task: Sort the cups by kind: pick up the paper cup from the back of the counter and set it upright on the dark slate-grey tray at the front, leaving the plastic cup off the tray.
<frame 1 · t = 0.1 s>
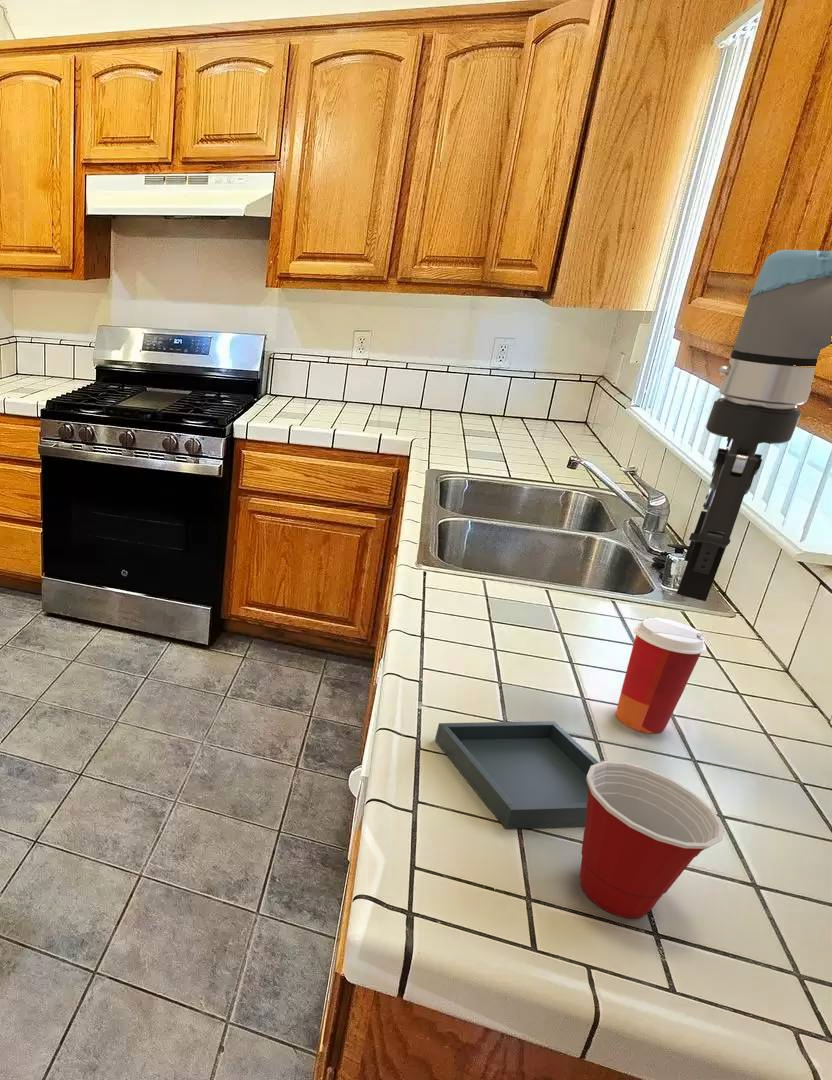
hand: (694, 579, 90), 23 cm above the countertop, tool pointing down, fingers open, 13 cm apart
paper cup: (638, 722, 102), on the countertop
tray: (529, 779, 89), on the countertop
plastic cup: (615, 897, 73), on the countertop
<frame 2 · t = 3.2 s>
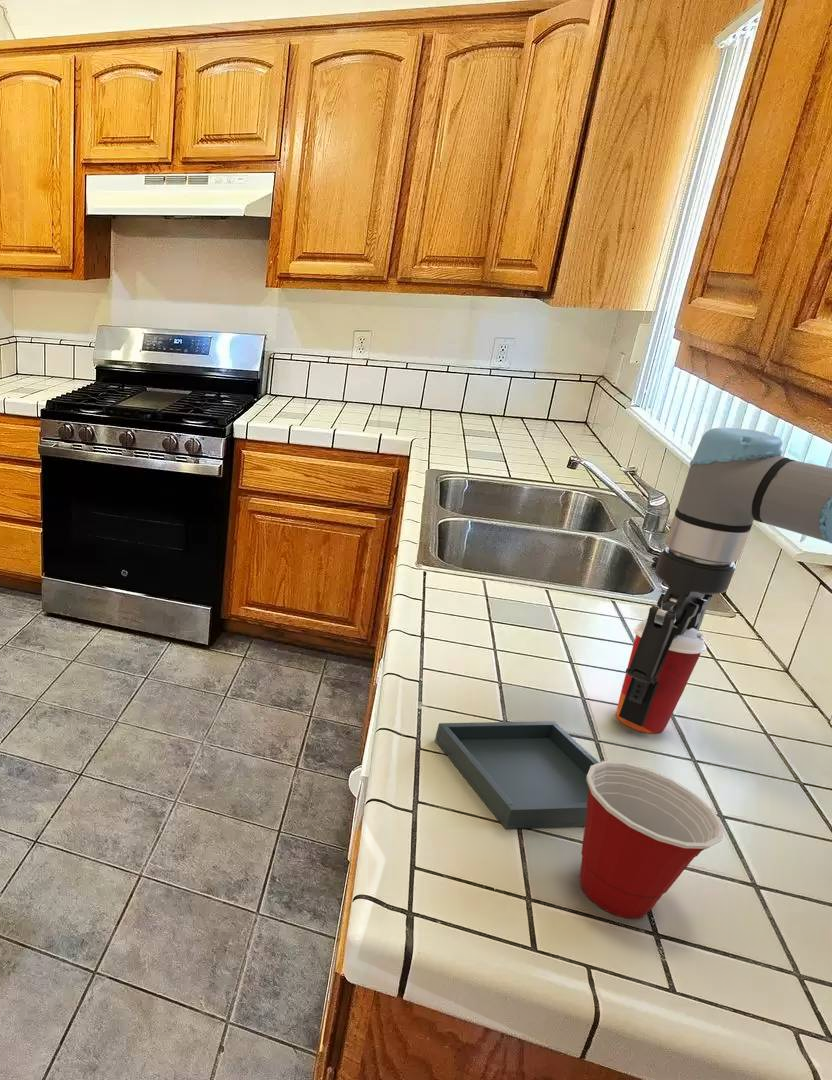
hand: (642, 712, 101), 1 cm above the countertop, tool pointing down, fingers closed on paper cup, 6 cm apart
paper cup: (638, 722, 102), on the countertop, touching gripper
everything else where it was.
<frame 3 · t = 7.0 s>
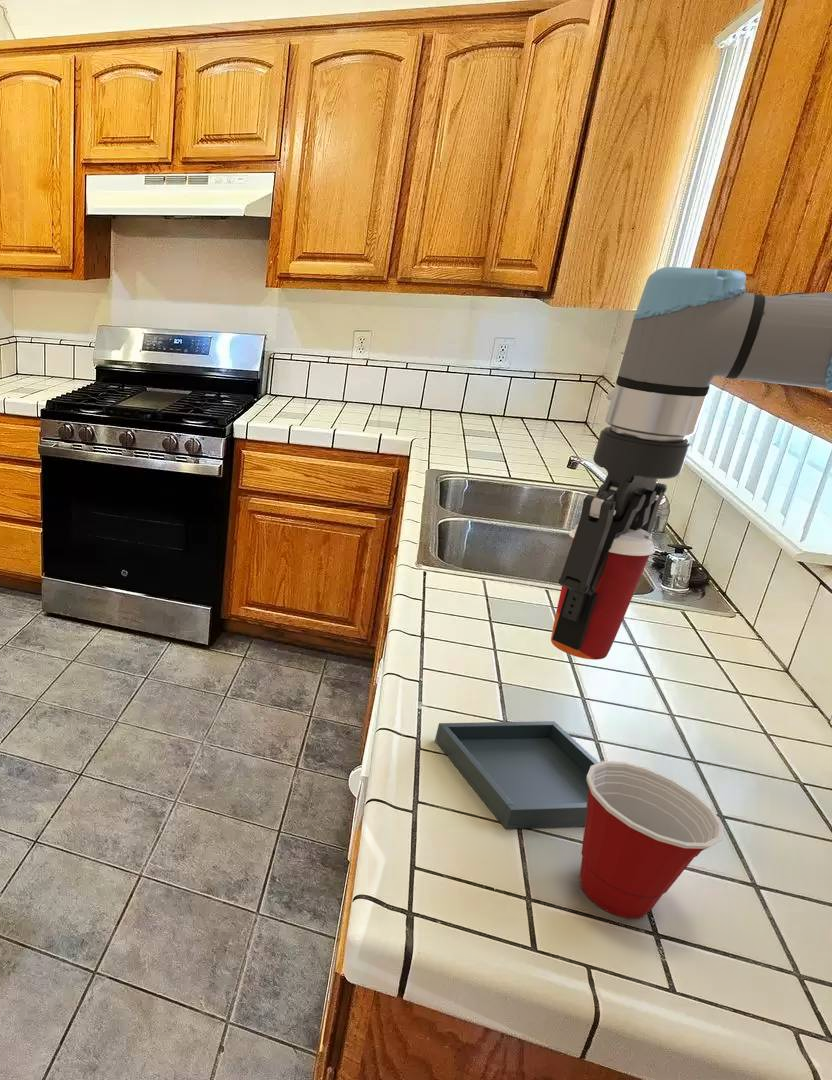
hand: (581, 635, 83), 19 cm above the countertop, tool pointing down, fingers closed on paper cup, 6 cm apart
paper cup: (577, 648, 84), point 17 cm above the countertop, touching gripper
everything else where it was.
when the fingers open (2 cm above the countertop, at t = 11.1 s): paper cup stays where it is, resting on tray.
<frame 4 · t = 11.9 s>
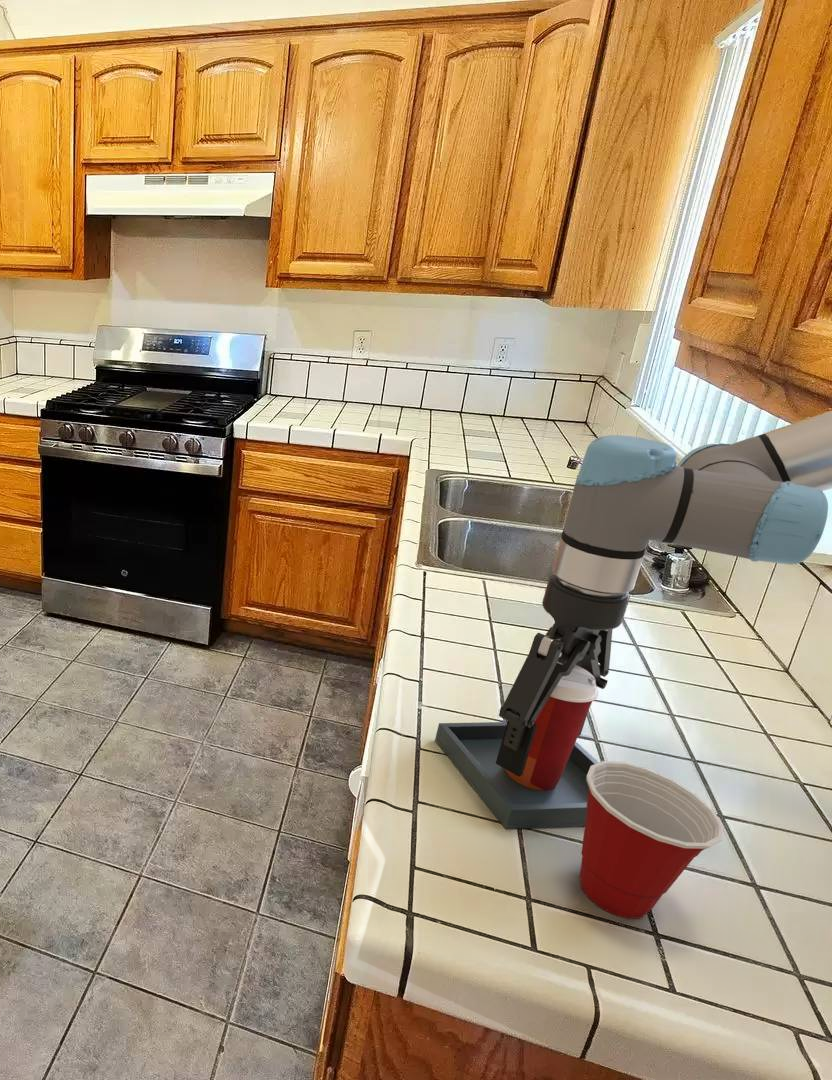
hand: (539, 749, 88), 4 cm above the countertop, tool pointing down, fingers open, 13 cm apart
paper cup: (529, 776, 89), resting on tray
everything else where it was.
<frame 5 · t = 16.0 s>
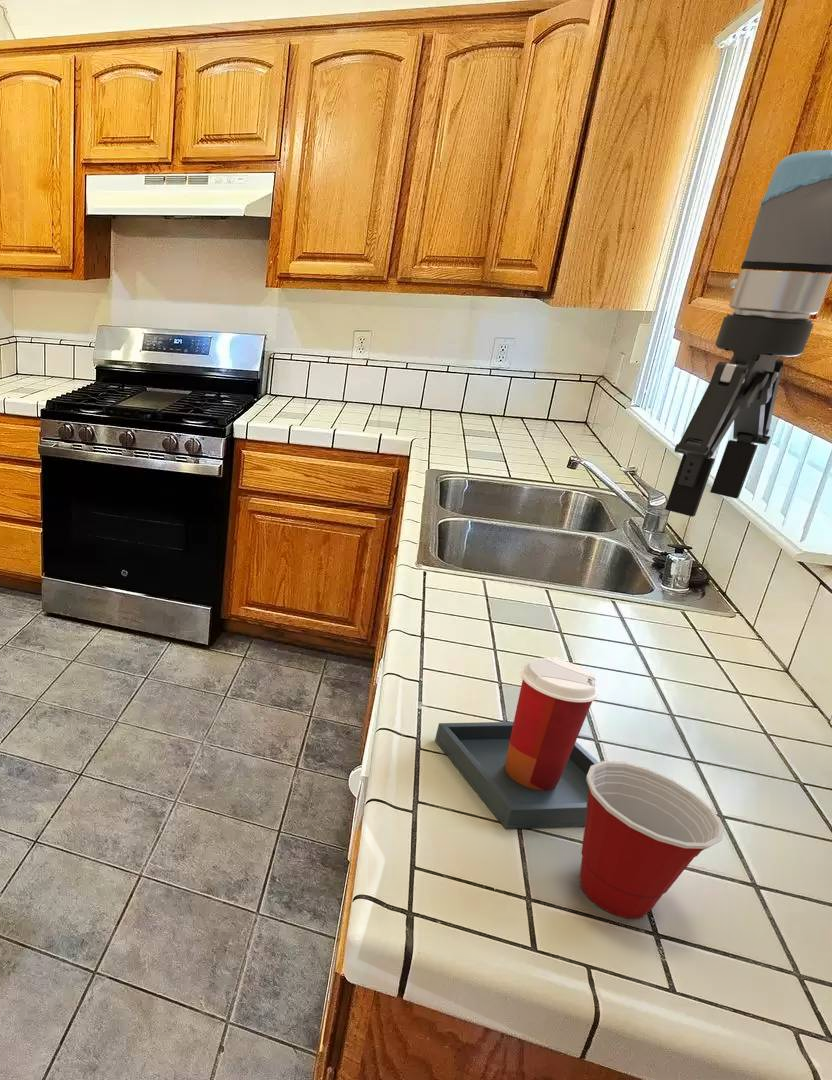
hand: (702, 503, 88), 32 cm above the countertop, tool pointing down, fingers open, 13 cm apart
nothing on the countertop moved.
at the end: paper cup inside the target area in the tray (0.1 cm from its centre), point 0.4 cm above the tray's base; paper cup tilted 0°; plastic cup touching countertop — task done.
